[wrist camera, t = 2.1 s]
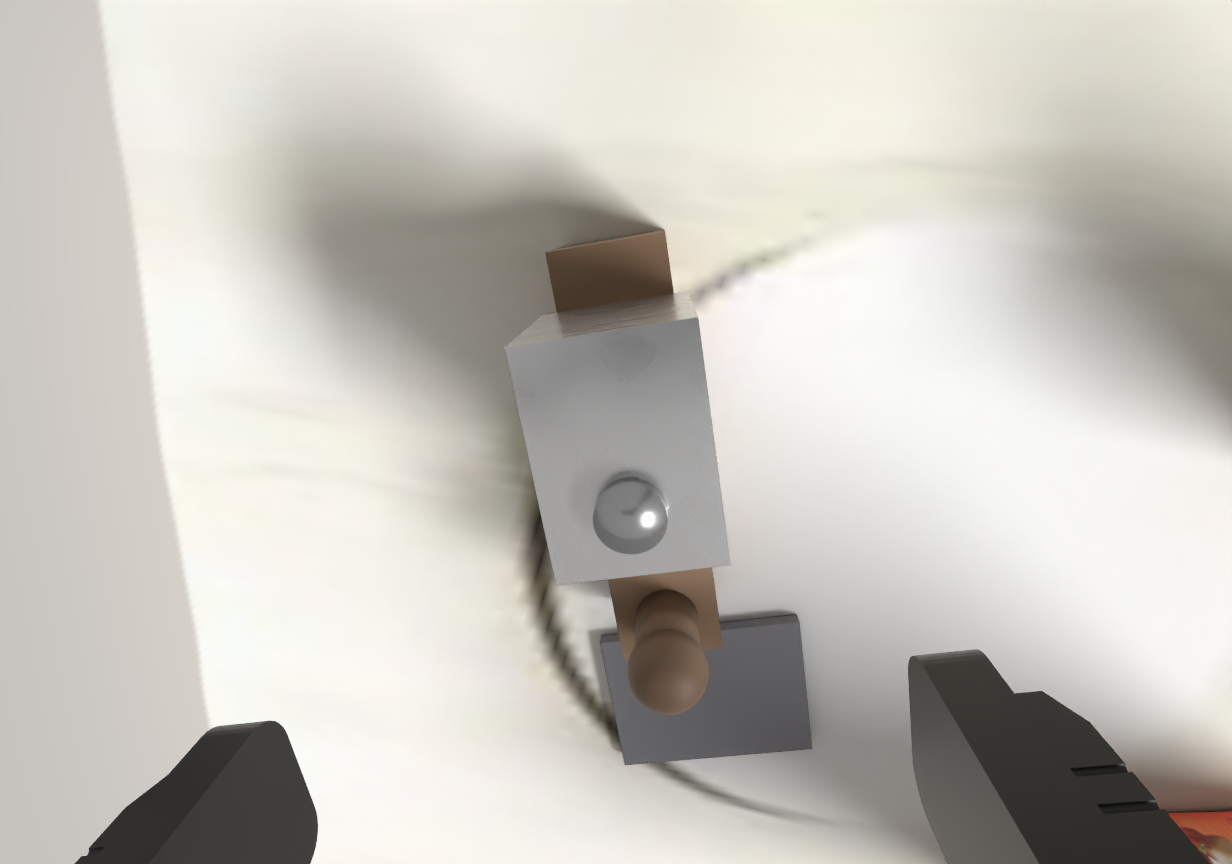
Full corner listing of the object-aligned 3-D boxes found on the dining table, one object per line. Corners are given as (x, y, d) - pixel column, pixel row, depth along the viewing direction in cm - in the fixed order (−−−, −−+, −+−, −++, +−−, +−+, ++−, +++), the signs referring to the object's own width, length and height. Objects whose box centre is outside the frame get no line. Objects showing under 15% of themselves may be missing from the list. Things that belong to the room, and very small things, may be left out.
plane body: (561, 246, 26) (517, 262, 18) (664, 229, 26) (666, 236, 18) (628, 604, 31) (616, 746, 23) (715, 594, 31) (735, 735, 22)
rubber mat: (601, 635, 32) (600, 643, 31) (796, 614, 31) (799, 621, 30) (625, 755, 34) (625, 765, 33) (809, 739, 33) (811, 748, 32)
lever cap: (542, 314, 23) (499, 352, 17) (688, 290, 23) (699, 320, 16) (579, 501, 25) (553, 596, 19) (714, 483, 25) (732, 575, 18)
